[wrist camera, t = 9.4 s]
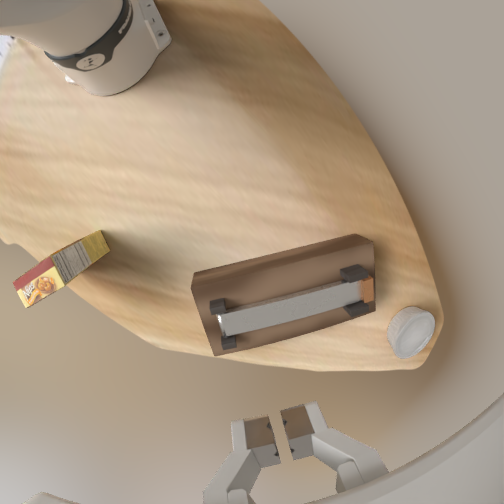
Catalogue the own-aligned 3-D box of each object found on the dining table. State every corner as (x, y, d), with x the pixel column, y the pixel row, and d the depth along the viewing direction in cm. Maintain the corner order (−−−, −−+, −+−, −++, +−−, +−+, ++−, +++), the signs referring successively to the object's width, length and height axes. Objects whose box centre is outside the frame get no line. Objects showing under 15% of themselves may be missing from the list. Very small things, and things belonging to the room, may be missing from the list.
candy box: (74, 271, 39) (26, 311, 25) (63, 250, 38) (10, 282, 23) (111, 250, 39) (66, 287, 25) (100, 227, 38) (48, 254, 23)
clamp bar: (215, 309, 37) (214, 317, 35) (366, 271, 38) (373, 276, 36) (222, 334, 38) (223, 342, 36) (367, 295, 39) (373, 301, 37)
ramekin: (396, 353, 53) (407, 366, 48) (373, 333, 50) (385, 346, 45) (428, 317, 52) (441, 327, 47) (409, 292, 49) (424, 302, 44)
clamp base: (194, 272, 42) (188, 298, 33) (354, 233, 43) (384, 247, 35) (214, 335, 45) (214, 369, 37) (359, 296, 47) (385, 319, 38)
